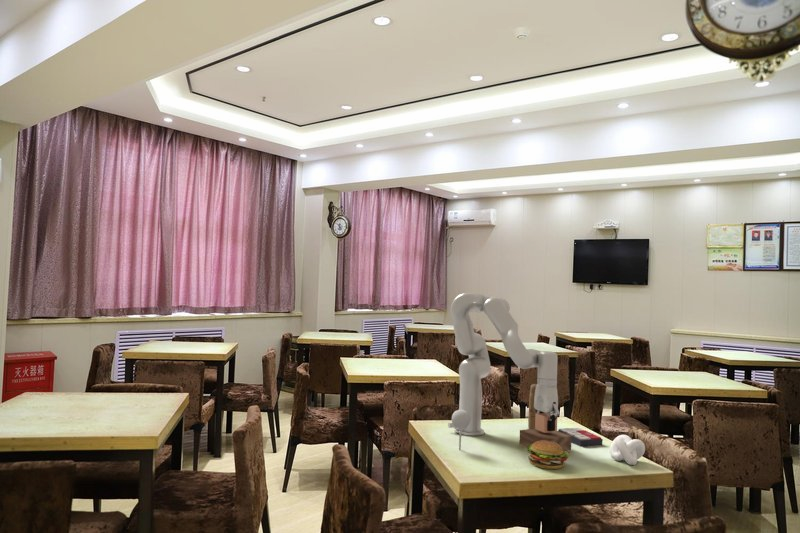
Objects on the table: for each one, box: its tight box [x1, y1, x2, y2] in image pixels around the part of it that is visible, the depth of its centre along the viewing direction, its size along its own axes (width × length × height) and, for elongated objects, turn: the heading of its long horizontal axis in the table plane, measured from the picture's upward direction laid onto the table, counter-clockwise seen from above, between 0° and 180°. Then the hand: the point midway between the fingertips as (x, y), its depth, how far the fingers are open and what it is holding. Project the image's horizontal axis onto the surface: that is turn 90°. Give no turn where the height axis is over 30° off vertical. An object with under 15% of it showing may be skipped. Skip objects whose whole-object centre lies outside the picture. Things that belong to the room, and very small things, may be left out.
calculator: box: [557, 427, 604, 448], centre depth 217 cm, size 11×4×15 cm
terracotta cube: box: [535, 413, 558, 433], centre depth 205 cm, size 6×6×6 cm
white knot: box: [609, 434, 646, 466], centre depth 192 cm, size 11×12×9 cm
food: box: [527, 440, 570, 470], centre depth 183 cm, size 14×14×8 cm
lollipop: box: [451, 409, 470, 451], centre depth 196 cm, size 7×7×15 cm
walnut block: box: [518, 428, 572, 452], centre depth 205 cm, size 14×14×6 cm
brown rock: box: [527, 383, 537, 429], centre depth 234 cm, size 11×8×20 cm
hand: (545, 428), depth 205 cm, fingers closed on terracotta cube, 6 cm apart
